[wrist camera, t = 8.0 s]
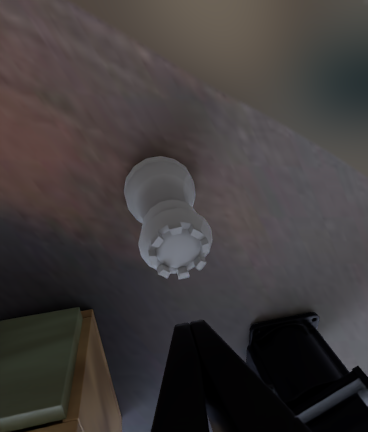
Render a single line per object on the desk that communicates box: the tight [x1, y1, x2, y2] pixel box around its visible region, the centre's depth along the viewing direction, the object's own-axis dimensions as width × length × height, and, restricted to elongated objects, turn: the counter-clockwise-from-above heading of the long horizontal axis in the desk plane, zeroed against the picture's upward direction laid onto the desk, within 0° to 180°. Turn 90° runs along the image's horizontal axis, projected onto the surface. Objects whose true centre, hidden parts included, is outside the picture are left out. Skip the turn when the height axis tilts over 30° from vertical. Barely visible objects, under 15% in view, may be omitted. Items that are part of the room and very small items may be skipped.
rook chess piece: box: [124, 156, 213, 280], centre depth 15 cm, size 4×4×8 cm
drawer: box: [0, 307, 83, 432], centre depth 19 cm, size 14×11×7 cm
